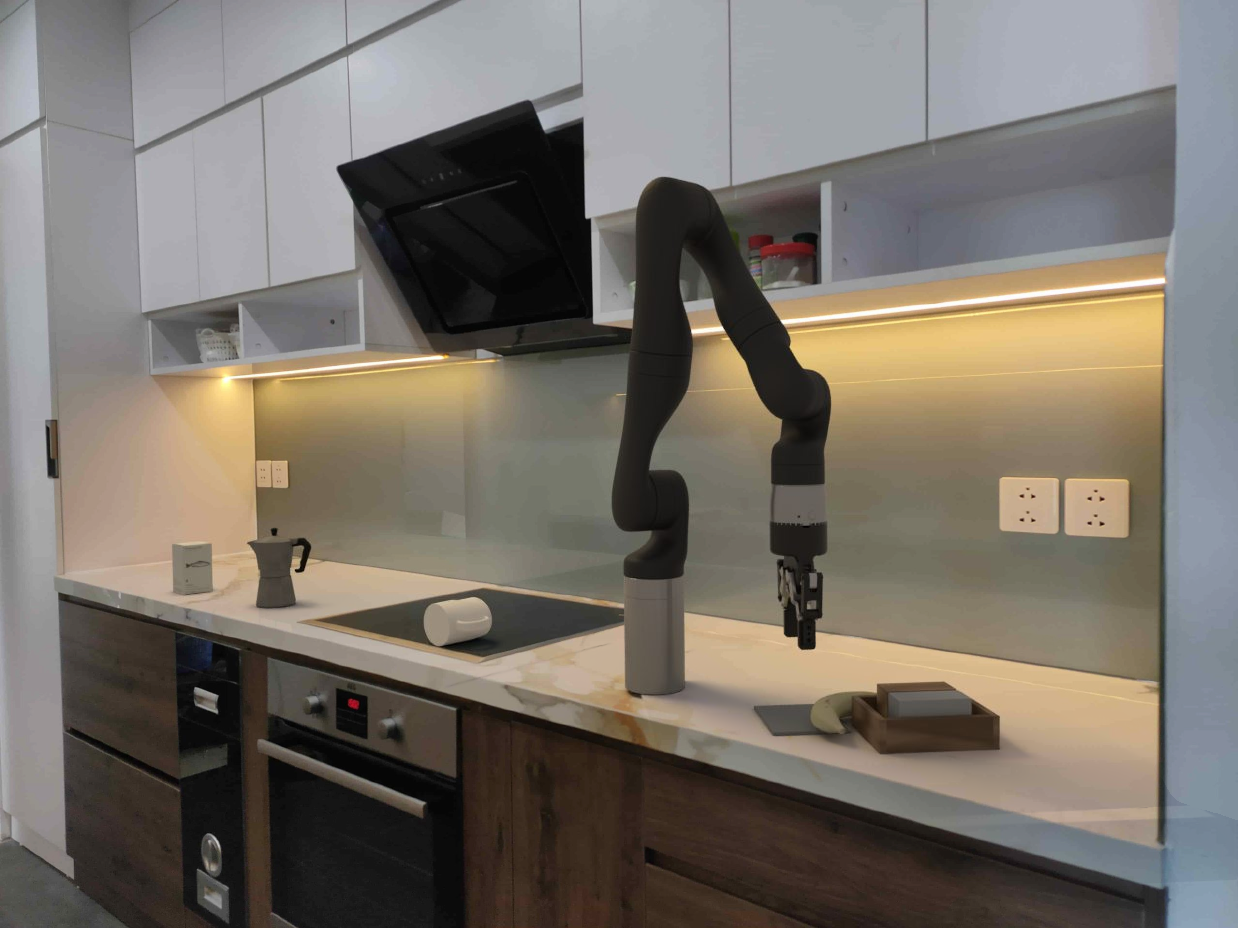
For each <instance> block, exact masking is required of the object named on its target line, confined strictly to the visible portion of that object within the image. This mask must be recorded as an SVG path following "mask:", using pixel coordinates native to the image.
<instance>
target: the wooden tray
mask: <svg viewBox="0 0 1238 928" xmlns="http://www.w3.org/2000/svg"><path fill="white" fill-rule="evenodd" d="M962 693H963V694H965V693H964V692H962ZM967 696H968V695H967ZM968 697H970V696H968ZM970 698H971V697H970ZM971 704H972V715H958V716H930V717H902V718H883V717H882V716H881V715H880V714H879V713H877V695H859V696H852V716H851V726H852V728H853V729H855V731H856V732H857V733H858V734H859V735H860V736H861V737H863V739H865V740H866V742H867V743H868V744H870V745H871V746H872V747H873V749H875V750H876V751H877V752H878V753H879V755H880V754H882V755H883V754H902V753H903V754H904V753H908V754H909V753H929V752H930V753H932V752H934V753H935V752H958V751H960V752H961V751H981V750H982V751H983V750H986V751H987V750H1000V748H1001V743H1000V742H1001V741H1000V739H1001V738H1000V737H1001V732H1000V731H1001V729H1000V726H1001V722H1000V721H1001V719H1000V718H1001V716H1000V715H998V714H997V713H996V712H994V711H992V710H991V709H989V708H988V707H986V706H984V705H983V704H981V703H980V702H978V701H977V700H975V699H973V698H971Z"/></svg>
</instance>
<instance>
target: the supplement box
mask: <svg viewBox="0 0 1238 928" xmlns="http://www.w3.org/2000/svg"><path fill="white" fill-rule="evenodd" d="M212 545H213V544H212V542H208V541H201V540H199V541H189V542H188V541H187V542H177V543H172V544H171V551H172V552H171V554H172V561H171V563H172V592H173V593H174V594H175V593H176V594H179V595H181V596H186V595H192V594H201V593H209V592H210V591H212V592H213V589H214V586H213V585H214V584H213V546H212Z"/></svg>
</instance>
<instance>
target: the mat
mask: <svg viewBox="0 0 1238 928" xmlns="http://www.w3.org/2000/svg"><path fill="white" fill-rule="evenodd" d="M814 704H815V703H800V704H798V703H797V704H796V703H795V704H772V705H771V704H770V705H753V710H754V711H755V713H756V714H757V715H758V716H759V718H760V720H761V721H762V722H763V724H764V725H765V726H766V728H767V729H768V731H769V733H770V734H771V735H772V736H774V735H775V736H776V737H777V736H799V735H825V734H826V735H827V734H828V735H829V734H831V733H828V732H825V731H822V730H820V729H818V728H816V727H815V726H814V725H813V724H812V722H811V711H812V707H813V705H814ZM839 720H840V723H841V724H842V726H843V727H844V728H845V729H846V732H845V733H844V734H850V733H851V729H850V728H849V727H848V726H847V724H845V723H844V722H843V721H842V720H841V719H839ZM835 734H838V733H837V732H836V733H835Z"/></svg>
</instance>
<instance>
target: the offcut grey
mask: <svg viewBox="0 0 1238 928" xmlns="http://www.w3.org/2000/svg"><path fill="white" fill-rule="evenodd" d="M963 693H964V692H963V691H960V690H958V689H957V690H952V691H923V692H894V693H888V706H889V718H902V717H930V716H958V715H972V704H971V697H970V696H969V697H968V695H967V694H965V693H964V694H963Z"/></svg>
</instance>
